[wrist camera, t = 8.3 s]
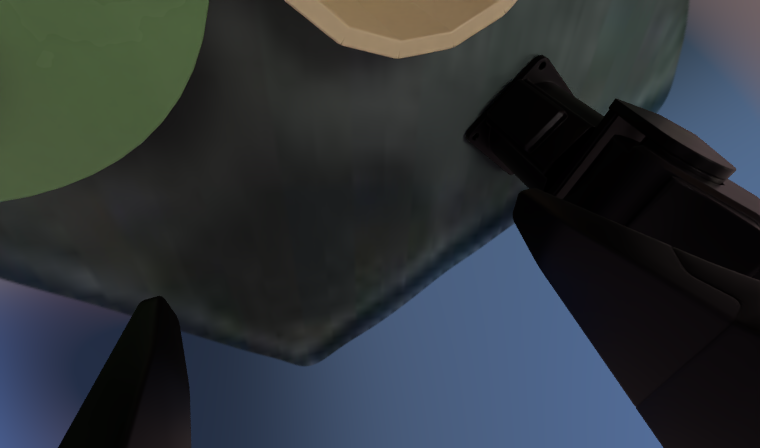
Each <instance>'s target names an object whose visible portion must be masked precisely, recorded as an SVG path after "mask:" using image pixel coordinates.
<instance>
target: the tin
mask: <svg viewBox="0 0 760 448" xmlns="http://www.w3.org/2000/svg"><path fill="white" fill-rule="evenodd" d="M284 1H285V2H286V3H287V4H289V5H290V6H291V7H292V8H294V9H295V10H296V11H297V12H299V13H300V14H301V15H302V16H304V17H305V18H306V19H307V20H309V21H310V22H311V23H312V24H314V25H315V26H316V27H317V28H319V29H320V30H321V31H322V32H324V33H325V34H326V35H327V36H329V37H330V38H331V39H332V40H334V41H335V42H336V43H337V44H340V45H342V46H345V47H349V48H353V49H358V50H362V51H366V52H370V53H374V54H378V55H382V56H386V57H390V58H394V59H397V58H398V59H401V58H406V57H411V56H416V55H421V54H426V53H431V52H436V51H441V50H446V49H451V48H452V47H455V46H457V45H458V44H460V43H462V42H463V41H465V40H466V39H468V38H469V37H471V36H473V35H474V34H476V33H477V32H479V31H480V30H482V29H483V28H485V27H487V26H488V25H490V24H491V23H493V22H494V21H496V20H498V19H499V18H501V17H502V16H504V14H506V13H507V12H508V11H509V9H510V8H511V7H512V6H513V5H514V4H515V2H516V1H517V0H284Z"/></svg>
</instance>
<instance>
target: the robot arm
mask: <svg viewBox="0 0 760 448" xmlns="http://www.w3.org/2000/svg"><path fill="white" fill-rule="evenodd" d="M540 64H541V65H540ZM539 65H540V66H539ZM475 133H476V134H475ZM474 134H475V135H474ZM473 135H474V136H473ZM466 138H467V140H468V141H469V142H470V143H472V144H473V145H474V146H475V147H476V148H478V149H479V150H480V151H481V152H483V153H484V154H485V155H486V156H487V157H489V158H490V159H491V160H492V161H494V162H495V163H496V164H497V165H498V166H500V167H501V168H502V169H503V170H504V171H506V172H507V173H508V174H510V175H513V174H515V175H516V176H517V177H518V178H519V179H520V180H521V181H522V182H523V183H524V184H525V185H526V186H527V187H528V188H529V189H527V190H523V191H521V192H520V193H519V194H518V197H517V200H516V204H515V207H514V210H513V220H514V222H515V224H516V226H517V228H518V229H519V231H520V233H521V235H522V237H523V239H524V241H525V243H526V245H527V246H528V248H529V250H530V252H531V254H532V256H533V257H534V259H535V261H536V263H537V264H538V266H539V268H540V269H541V271H542V272H543V274H544V275H545V277H546V278H547V280H548V281H549V282H550V284H551V285H552V287H553V288H554V290H555V291H556V292H557V294H558V296H559V297H560V298H561V300H562V301H563V303H564V304H565V306H566V307H567V309H568V310H569V311H570V313H571V314H572V315H573V317H574V319H575V320H576V322H577V323H578V324H579V326H580V327H581V329H582V330H583V332H584V333H585V335H586V336H587V337H588V339H589V340H590V342H591V343H592V344H593V346H594V347H595V349H596V350H597V352H598V353H599V355H600V356H601V358H602V359H603V361H604V362H605V363H606V365H607V366H608V368H609V369H610V371H611V372H612V374H613V375H614V377H615V378H616V379H617V381H618V382H619V384H620V385H621V387H622V388H623V390H624V391H625V392H626V394H627V395H628V397H629V398H630V400H631V401H632V403H633V404H634V405H635V406H636V409H637V410H638V412H639V413H640V415H641V416H642V417H643V419H644V420H645V422H646V423H647V425H648V426H649V428H650V429H651V430H652V432H653V433H654V435H655V436H656V438H657V439H658V440H659V442H660V443H661V445H662V446H663V448H760V199H759V198H758V197H757V196H755V195H753V194H752V193H750V192H748V191H747V190H745V189H744V188H742V187H740V186H738V185H737V184H735V183H733V182H732V181H730V180H729V179H728V178H729V177H730V176H731V175H732V174H733V173H734V172H735V171H736V168H735V167H734V166H733V165H731V164H730V163H729V162H728V161H727V160H725V159H724V158H723V157H722V156H721V155H719V154H718V153H717V152H716V151H715V150H713V149H712V148H711V147H710V146H709V145H707V144H706V143H705V142H704V141H703V140H701V139H700V138H699V137H698V136H696V135H695V134H693V133H692V132H690V131H688V130H686V129H684V128H682V127H681V126H679V125H677V124H675V123H673V122H672V121H670V120H668V119H666V118H664V117H663V116H661V115H659V114H656V113H654V112H651V111H648V110H645V109H643V108H640V107H637V106H635V105H632V104H629V103H627V102H624V101H621V100H619V99H615V100H614V101H613V103H612V104H611V105H610V107H609V111H608V112H607V113H606V115H605V116H602V115H601V114H599V113H598V112H596V111H595V110H593V109H592V108H590V107H589V106H587V105H586V104H584V103H583V102H581V101H580V100H578V99H577V98H575V97H574V96H573V94H572V93H571V91H570V90H569V88H568V87H567V85H566V84H565V82H564V81H563V79H562V78H561V77H560V75H559V74H558V72H557V71H556V69H555V68H554V66H553V65H552V63H551V62H550V60H549V59H548V58H546V57H545V56H543V55H539V56H537V57H536V58H535V59H534V60H533V61H532V62H531V63H530V64H529V65H528V66H527V67H526V68H525V70H524V71H523V72H522V73H521V74H520V75H519V76H518V77H517V78H516V79H515V80H514V81H513V82H512V84H511V85H510V86H509V87H508V88H507V89H506V90H505V91H504V92H503V93H502V94H501V95H500V97H499V98H498V99H497V100H496V101H495V102H494V103H493V104H492V105H491V106H490V107H489V108H488V109H487V111H486V112H485V113H484V114H483V115H482V116H481V117H480V118H479V119H478V120H477V121H476V122H475V123H474V125H473V126H472V127H471V128H470V129H469V130H468V131H467V133H466ZM190 422H191V420H190V391H189V382H188V375H187V369H186V363H185V356H184V349H183V343H182V337H181V331H180V325H179V321H178V318H177V316H176V314H175V313H174V311H173V310H172V309H171V307H170V306H169V304H168V303H167V301H166V300H165V299H164V298H163V297H162V296H157V297H153V298H150V299H146V300H143V301H142V302H140V303H139V305H138V306H137V308H136V310H135V312H134V314H133V315H132V317H131V319H130V321H129V322H128V324H127V326H126V328H125V330H124V331H123V333H122V335H121V337H120V338H119V340H118V342H117V344H116V346H115V348H114V349H113V351H112V353H111V354H110V356H109V358H108V360H107V362H106V363H105V365H104V367H103V369H102V370H101V372H100V374H99V376H98V378H97V379H96V381H95V383H94V385H93V386H92V388H91V390H90V392H89V394H88V395H87V397H86V399H85V401H84V403H83V404H82V406H81V408H80V410H79V411H78V413H77V415H76V417H75V419H74V421H73V422H72V424H71V426H70V427H69V429H68V431H67V433H66V435H65V436H64V438H63V440H62V442H61V444H60V445H59V447H58V448H191V423H190Z"/></svg>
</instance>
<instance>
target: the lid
mask: <svg viewBox="0 0 760 448" xmlns="http://www.w3.org/2000/svg"><path fill="white" fill-rule="evenodd" d="M208 6H209V0H0V202H3V201H9V200H14V199H20V198H25V197H30V196H34V195H37V194H41V193H44V192H48V191H51V190H55V189H58V188H62V187H65V186H67V185H69V184H72V183H74V182H77V181H79V180H82V179H84V178H86V177H89V176H91V175H94V174H95V173H97V172H99V171H101V170H102V169H104V168H106V167H108V166H110V165H111V164H113V163H115V162H117V161H118V160H120V159H121V158H123V157H124V156H125V155H127V154H128V153H129V152H131V151H132V150H133V149H135V148H136V147H137V146H139V145H140V144H141V143H142V142H144V141H145V140H146V139H147V138H148V137H149V136H150V135H151V134H152V133H153V131H154V130H155V129H156V128H157V127H158V126H159V125H160V124H161V123H162V122H163V121H164V120H165V118H166V117H167V116H168V114H169V113H170V111H171V110H172V109H173V107H174V106H175V104H176V103H177V101H178V100H179V99H180V97H181V95H182V93H183V91H184V89H185V87H186V85H187V83H188V81H189V79H190V77H191V75H192V73H193V71H194V68H195V65H196V61H197V58H198V55H199V52H200V48H201V45H202V42H203V39H204V32H205V26H206V19H207V13H208Z"/></svg>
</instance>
